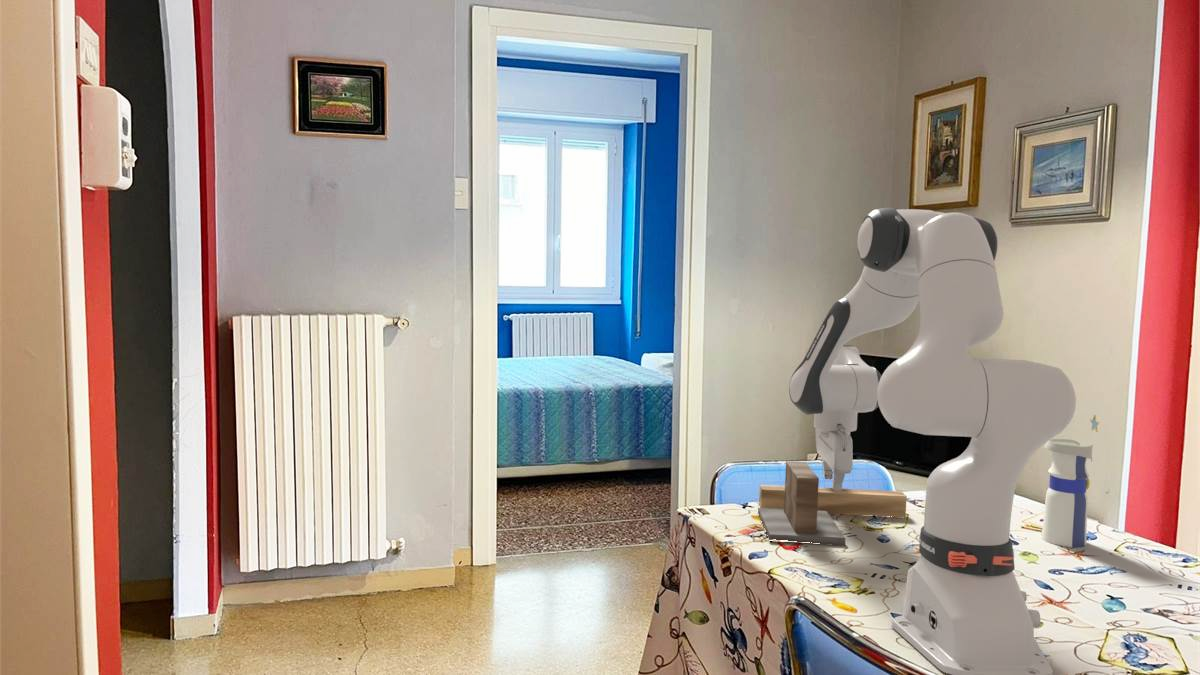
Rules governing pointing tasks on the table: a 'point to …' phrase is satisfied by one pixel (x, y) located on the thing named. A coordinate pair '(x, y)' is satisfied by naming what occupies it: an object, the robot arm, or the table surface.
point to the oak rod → (843, 501)
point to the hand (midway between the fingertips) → (832, 484)
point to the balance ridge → (801, 511)
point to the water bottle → (1067, 492)
